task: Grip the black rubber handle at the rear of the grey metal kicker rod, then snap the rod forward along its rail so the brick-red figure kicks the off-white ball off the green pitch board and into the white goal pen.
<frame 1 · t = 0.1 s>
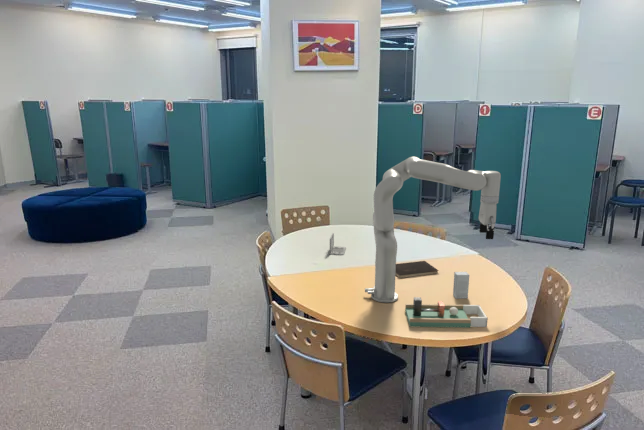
hand: (486, 235, 210), 31 cm above the table, fingers open, 9 cm apart
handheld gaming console: (337, 251, 284), on the table
kicker rod: (428, 306, 198), point 6 cm above the table, slide at 0.0 cm
pitch board: (436, 319, 199), on the table
skincare box: (460, 297, 221), on the table
goal: (474, 319, 198), on the table
ball: (453, 311, 198), point 4 cm above the table, touching pitch board
hardcover book: (412, 271, 253), on the table
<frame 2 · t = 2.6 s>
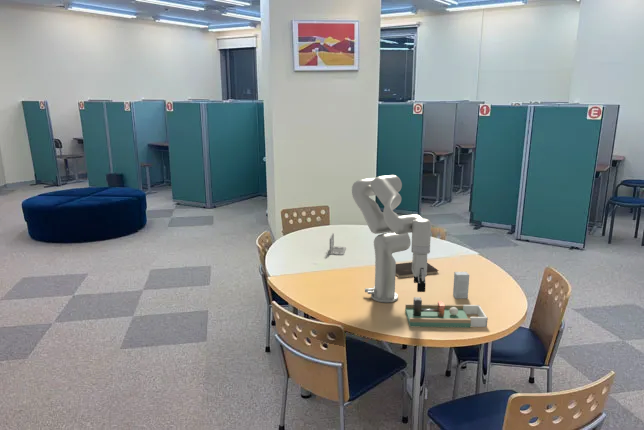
hand: (419, 287, 195), 15 cm above the table, fingers open, 9 cm apart
nothing on the table moved.
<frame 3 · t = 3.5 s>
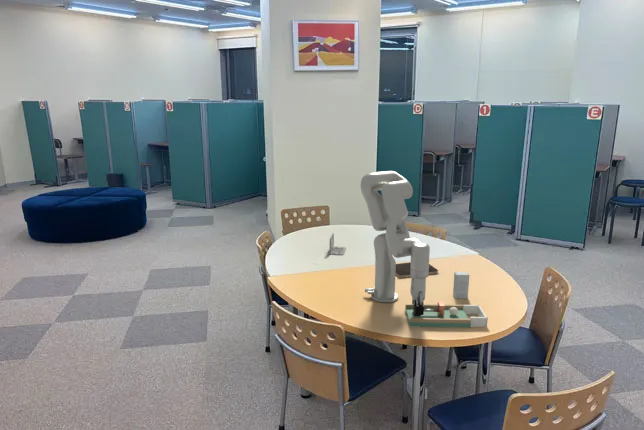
hand: (417, 309, 198), 4 cm above the table, fingers open, 9 cm apart
nothing on the table moved.
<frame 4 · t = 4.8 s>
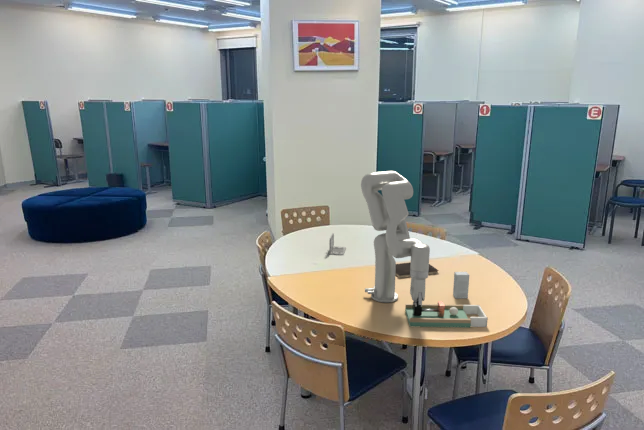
hand: (417, 312, 199), 3 cm above the table, fingers closed on kicker rod, 3 cm apart
kicker rod: (428, 306, 198), point 6 cm above the table, slide at 0.0 cm, touching gripper
everything else where it was.
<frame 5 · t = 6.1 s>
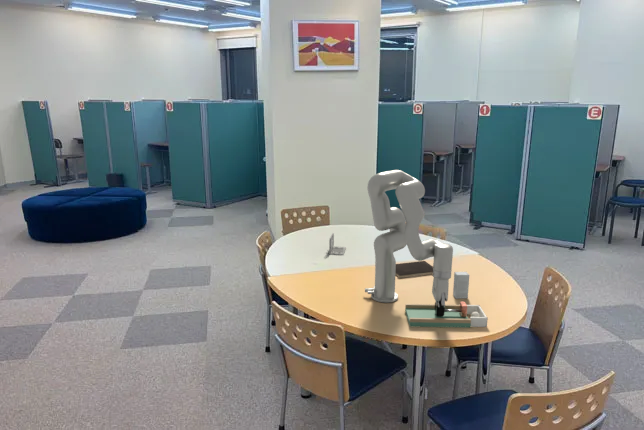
hand: (439, 312, 198), 3 cm above the table, fingers closed on kicker rod, 3 cm apart
kicker rod: (450, 306, 197), point 6 cm above the table, slide at 9.4 cm, touching gripper
ball: (475, 315, 198), point 2 cm above the table, tilted 51°
everything else where it was.
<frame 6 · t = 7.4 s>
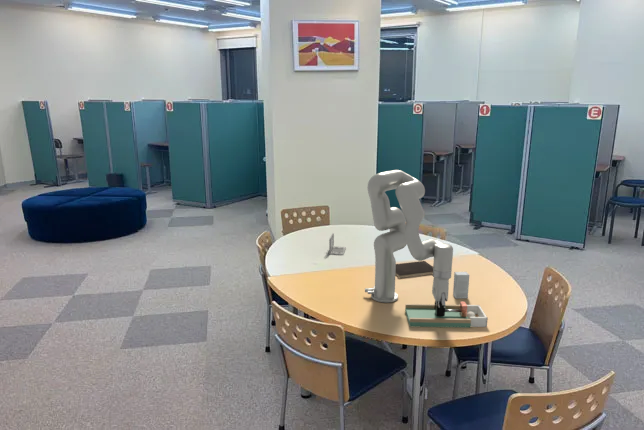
hand: (439, 312, 198), 3 cm above the table, fingers open, 4 cm apart
kicker rod: (451, 306, 197), point 6 cm above the table, slide at 9.5 cm
ball: (470, 315, 198), point 2 cm above the table, tilted 114°
everything else where it was.
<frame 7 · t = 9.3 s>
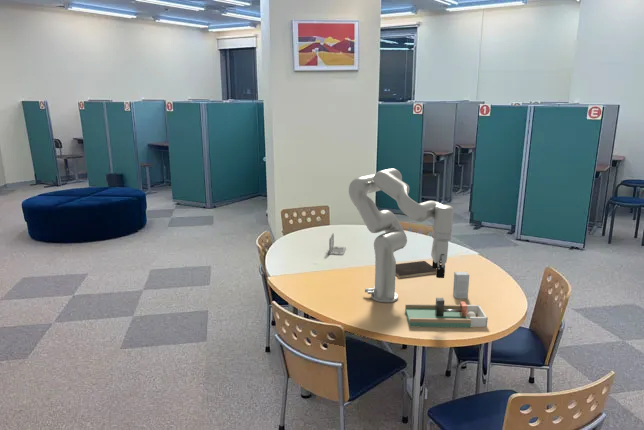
hand: (437, 272, 196), 20 cm above the table, fingers open, 9 cm apart
ball: (471, 315, 198), point 2 cm above the table, tilted 107°
everything else where it was.
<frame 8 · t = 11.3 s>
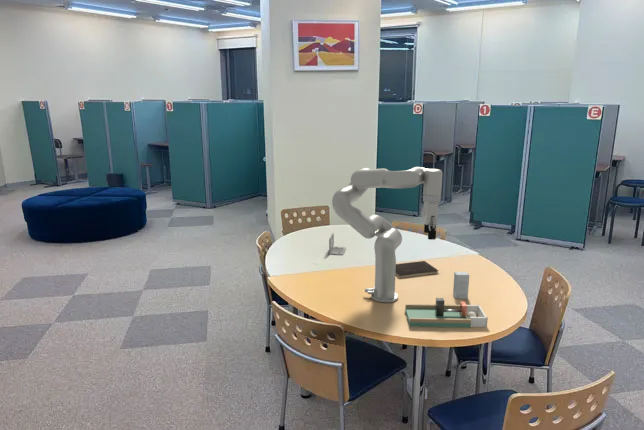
hand: (429, 235, 203), 33 cm above the table, fingers open, 9 cm apart
ball: (471, 315, 198), point 2 cm above the table, tilted 99°
everything else where it was.
at the end: ball inside the target area (1.2 cm from its centre), point 1.8 cm above the table; kicker rod slide at 9.5 cm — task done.
